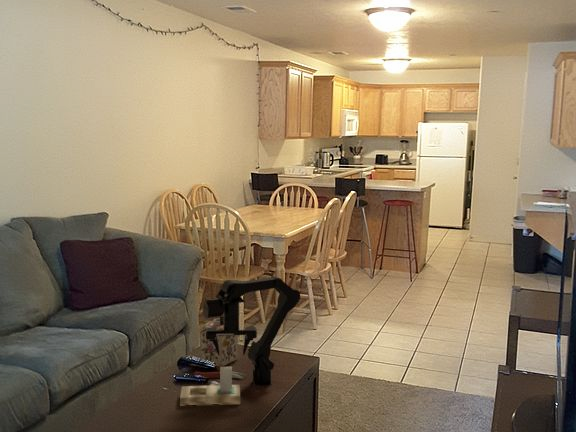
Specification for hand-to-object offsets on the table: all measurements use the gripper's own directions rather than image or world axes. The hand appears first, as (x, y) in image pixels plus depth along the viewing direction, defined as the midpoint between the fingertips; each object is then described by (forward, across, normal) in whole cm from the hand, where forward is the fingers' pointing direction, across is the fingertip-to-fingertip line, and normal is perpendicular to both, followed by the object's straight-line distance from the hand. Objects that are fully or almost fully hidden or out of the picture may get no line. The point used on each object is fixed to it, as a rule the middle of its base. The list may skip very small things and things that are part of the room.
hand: (231, 355), depth 229 cm
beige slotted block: (+13, +7, +9) cm, 17 cm away
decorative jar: (+13, +5, -29) cm, 32 cm away
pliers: (+14, +5, -12) cm, 19 cm away
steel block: (+10, +2, +9) cm, 13 cm away
